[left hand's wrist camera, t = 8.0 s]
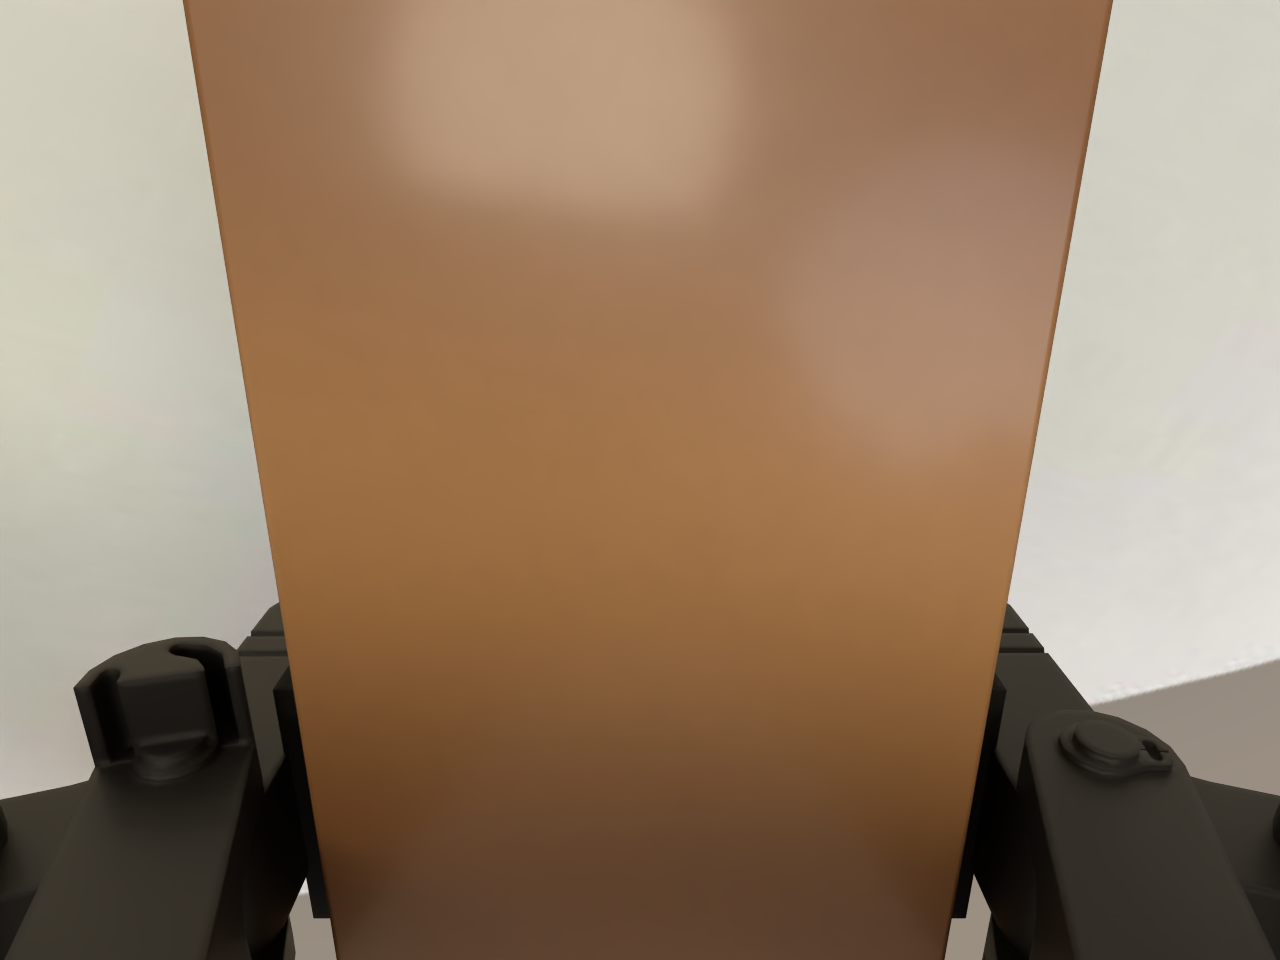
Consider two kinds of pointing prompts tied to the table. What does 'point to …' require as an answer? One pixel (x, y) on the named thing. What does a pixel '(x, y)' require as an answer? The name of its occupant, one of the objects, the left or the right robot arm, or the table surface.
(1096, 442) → the table surface
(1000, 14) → the bar
